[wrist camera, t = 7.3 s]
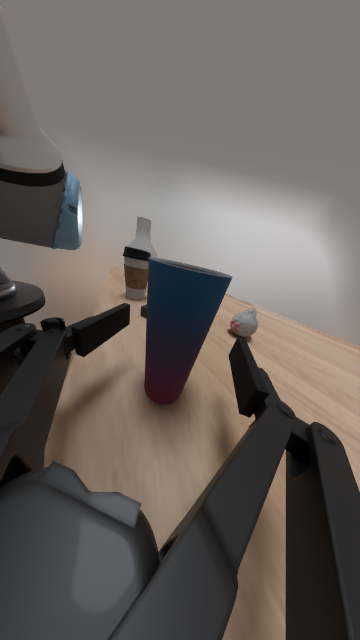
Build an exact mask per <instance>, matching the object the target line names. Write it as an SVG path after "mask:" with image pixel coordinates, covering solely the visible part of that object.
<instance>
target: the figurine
mask: <svg viewBox="0 0 360 640" xmlns="http://www.w3.org/2000/svg"><path fill="white" fill-rule="evenodd" d="M230 325H231V329H232V331H233V332H234V333H235V334H236V335H238V336H242V337H247V336H250V335H252V334H253V333H255V332H256V330H257V326H258V322H257V319H256V310H255V308H251V309H248V310H246V311H244V312H241V313H238V314H236V315H235V316H234V317H233V318H232V320H231V322H230Z"/></svg>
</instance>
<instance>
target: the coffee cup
mask: <svg viewBox="0 0 360 640" xmlns="http://www.w3.org/2000/svg"><path fill="white" fill-rule="evenodd" d="M123 256H124V260H125V264H124V269H125V282H126V295H127V297H128V298H130V299H133V300H142V299H144V297H145V291H146V286H147V281H148V261H149V257H151V253H149V252H147V251H144V250H140V249H136V248H132V247H125V250H124V253H123Z"/></svg>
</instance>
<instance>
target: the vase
mask: <svg viewBox="0 0 360 640" xmlns="http://www.w3.org/2000/svg"><path fill="white" fill-rule="evenodd" d="M150 228H151V221H150V220H148V219H146V218H142V217H137V230H136V236H135V240H134V241H133V242H131V243H130V244H129V245H128V246H127V247H132V248H136V249H140V250H144V251H147V252H149V253H151V257H153V258H157V253H156V252H155V250H154V248H153V246H152V245H151V243H150Z"/></svg>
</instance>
